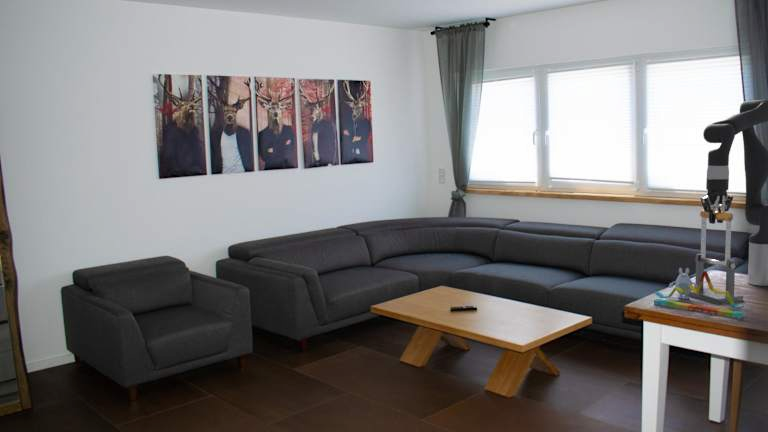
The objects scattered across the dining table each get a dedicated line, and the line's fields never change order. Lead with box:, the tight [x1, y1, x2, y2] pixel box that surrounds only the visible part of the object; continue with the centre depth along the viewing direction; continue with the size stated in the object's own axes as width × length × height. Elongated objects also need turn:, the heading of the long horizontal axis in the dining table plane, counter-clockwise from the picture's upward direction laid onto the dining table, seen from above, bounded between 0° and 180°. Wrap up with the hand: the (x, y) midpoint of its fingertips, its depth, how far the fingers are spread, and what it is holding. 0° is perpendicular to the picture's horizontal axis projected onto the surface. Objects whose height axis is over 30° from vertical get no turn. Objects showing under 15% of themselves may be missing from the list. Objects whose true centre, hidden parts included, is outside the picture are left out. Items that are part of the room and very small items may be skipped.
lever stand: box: [687, 253, 744, 305], centre depth 262 cm, size 12×18×16 cm
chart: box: [653, 270, 744, 320], centre depth 245 cm, size 30×3×15 cm, turn 43°
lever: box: [699, 209, 734, 268], centre depth 260 cm, size 3×13×20 cm, turn 19°
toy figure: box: [668, 267, 698, 300], centre depth 263 cm, size 11×6×12 cm, turn 63°
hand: (716, 222), depth 259 cm, fingers closed on lever, 3 cm apart
